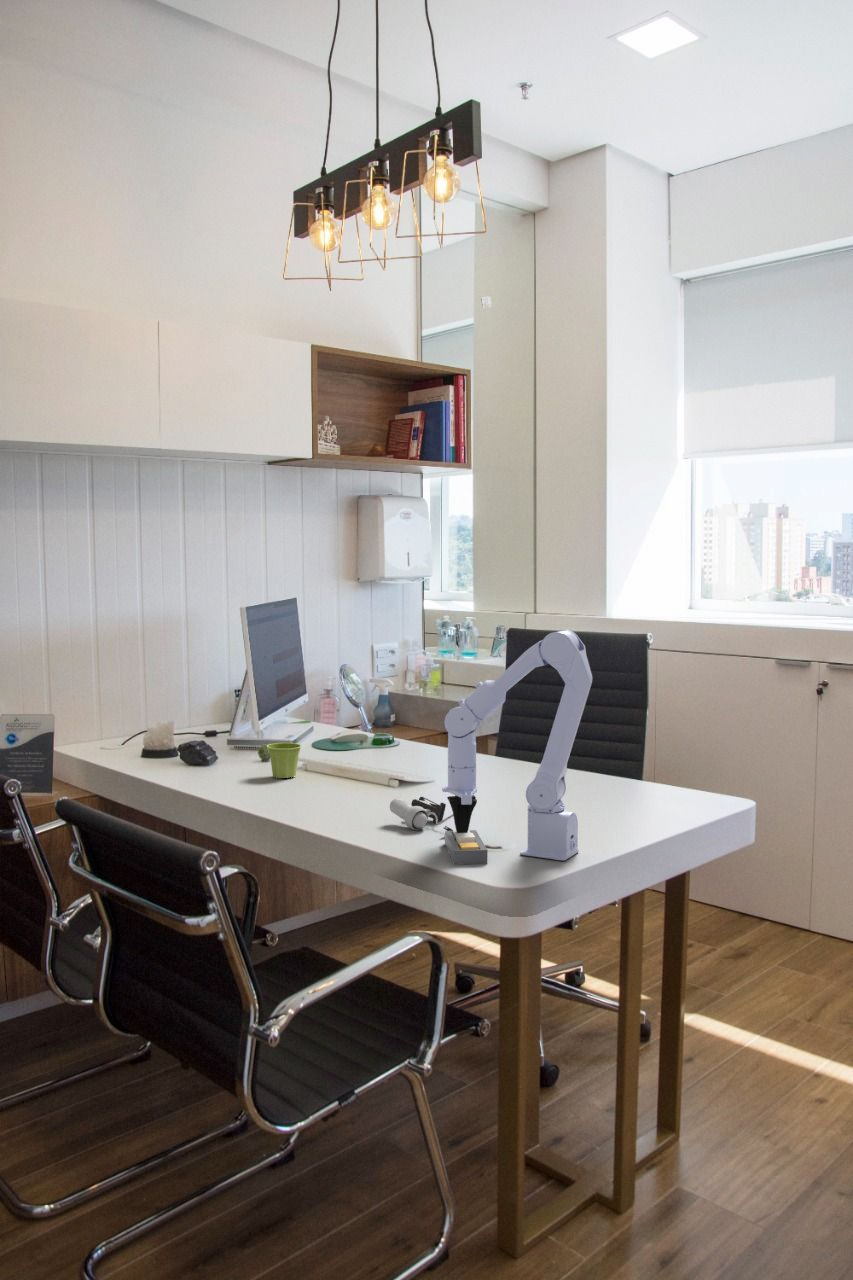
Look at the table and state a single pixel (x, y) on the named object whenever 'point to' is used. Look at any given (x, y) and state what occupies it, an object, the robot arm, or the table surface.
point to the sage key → (456, 832)
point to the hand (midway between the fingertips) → (461, 832)
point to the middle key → (465, 837)
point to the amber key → (468, 846)
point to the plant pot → (284, 759)
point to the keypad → (466, 855)
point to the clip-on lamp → (419, 812)
